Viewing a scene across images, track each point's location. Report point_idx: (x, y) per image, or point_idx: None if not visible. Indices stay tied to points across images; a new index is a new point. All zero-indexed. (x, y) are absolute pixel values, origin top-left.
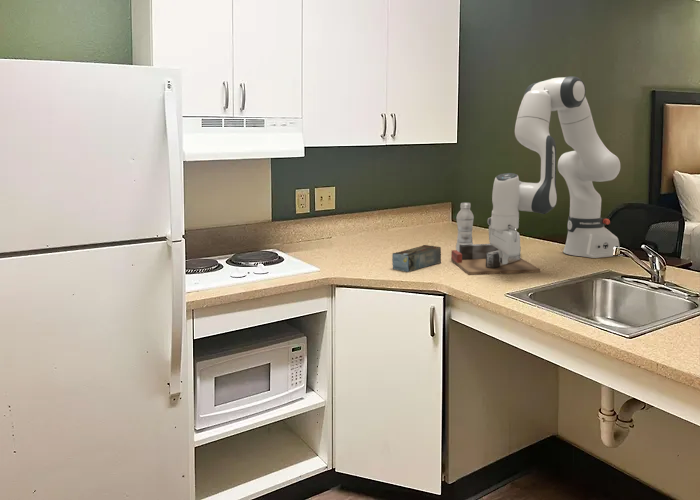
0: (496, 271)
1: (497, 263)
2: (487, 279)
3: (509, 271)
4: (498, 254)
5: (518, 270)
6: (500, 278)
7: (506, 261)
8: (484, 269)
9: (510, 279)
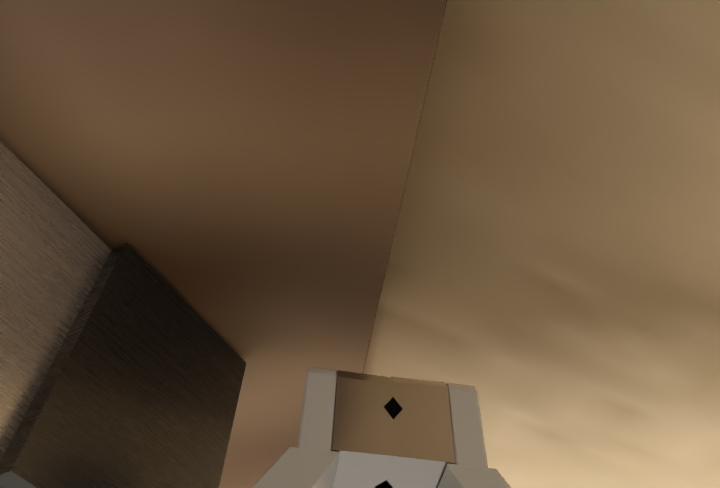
0: (362, 361)
1: (163, 347)
2: (559, 483)
3: (397, 199)
4: (87, 481)
5: (432, 47)
6: (597, 385)
7: (475, 433)
8: (247, 439)
9: (714, 320)
